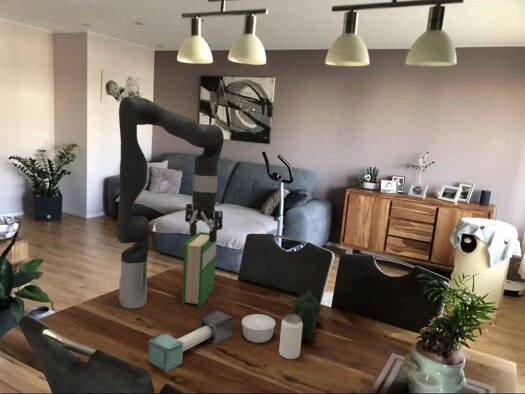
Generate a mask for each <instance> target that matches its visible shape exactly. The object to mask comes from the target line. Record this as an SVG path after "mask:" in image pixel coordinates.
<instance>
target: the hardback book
mask: <svg viewBox="0 0 525 394" xmlns="http://www.w3.org/2000/svg"><path fill="white" fill-rule="evenodd" d="M217 235H218V234H216V240H215V242H212V243H211V242H209V232H203V231H199V232H198V233H197V232H196V236H193V237H192V236H191V238H189V239H188V240H187V241H185V242H184V244H183V245H184V246H183V262H182V263H183V264H182V290H181V292H182V293H181V305H185V304H186V303H188V304H194V305H195V304H196V305H197V307H198V308H201V307H202V306H203V304H204V303H205V301H206V300H207V299H208V297H209V296H210V295H211V294H212V292H213V291H214V289H215V288H214V287H215V275H216V274H215V273H216V271H215V270H216V255H217V239H218V236H217Z"/></svg>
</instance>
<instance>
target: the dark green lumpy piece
mask: <svg viewBox="0 0 525 394" xmlns="http://www.w3.org/2000/svg"><path fill="white" fill-rule="evenodd" d="M293 312H294V315H298V316H300V317H301V318H302V324H303V326H302V337H301V340H302V339H307V341H308V342H314V340H315V336H316V333H315V331H316V329H317V325H316V323H317V318H318V317H319V315H320V314H321V313H320V312H321V304H320V301H319V300H318V299H317V297H315V296H314V294H313V291H311V290H308V291H306V292H305V294H301V295H299V297H297V298H296V299H295V301H294V302H293Z"/></svg>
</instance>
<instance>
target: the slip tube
mask: <svg viewBox="0 0 525 394" xmlns="http://www.w3.org/2000/svg"><path fill="white" fill-rule="evenodd" d="M212 336H213V327H212V326H209V325H205V326H203V327H201V328H199V327H198V328H197V329H195V330H193V331H192V332H189V333H187V334H185V335H183V336H181V337H179V338H176V339H177V340H179V341H181V342H183V352H185V351H187V350H189V349H191V348H192V347H195V346H197V345H199V344H200V343H202V342H204V341H207V340H206V339H208V338H210V337H212Z"/></svg>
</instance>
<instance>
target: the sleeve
mask: <svg viewBox="0 0 525 394" xmlns="http://www.w3.org/2000/svg"><path fill="white" fill-rule="evenodd" d="M233 323H234V317H233V316H231V315H228V314H226V313H224V312H222V311H219V310H217V309H215V310H213V311H210V312H208V313H207V314H204V315H202V316H200V317H199V318H198V329H199V328H201V327H203V326H205V325H209V326H212V327H213V336H212V337H210V338H208V339H206V340H205V341H206V342H209V343H211V344H212V345H215V346H216V345H218V344H220V343H221V342H223V341H225V340H227V339H228V338H230V337H232V336H233Z"/></svg>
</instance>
